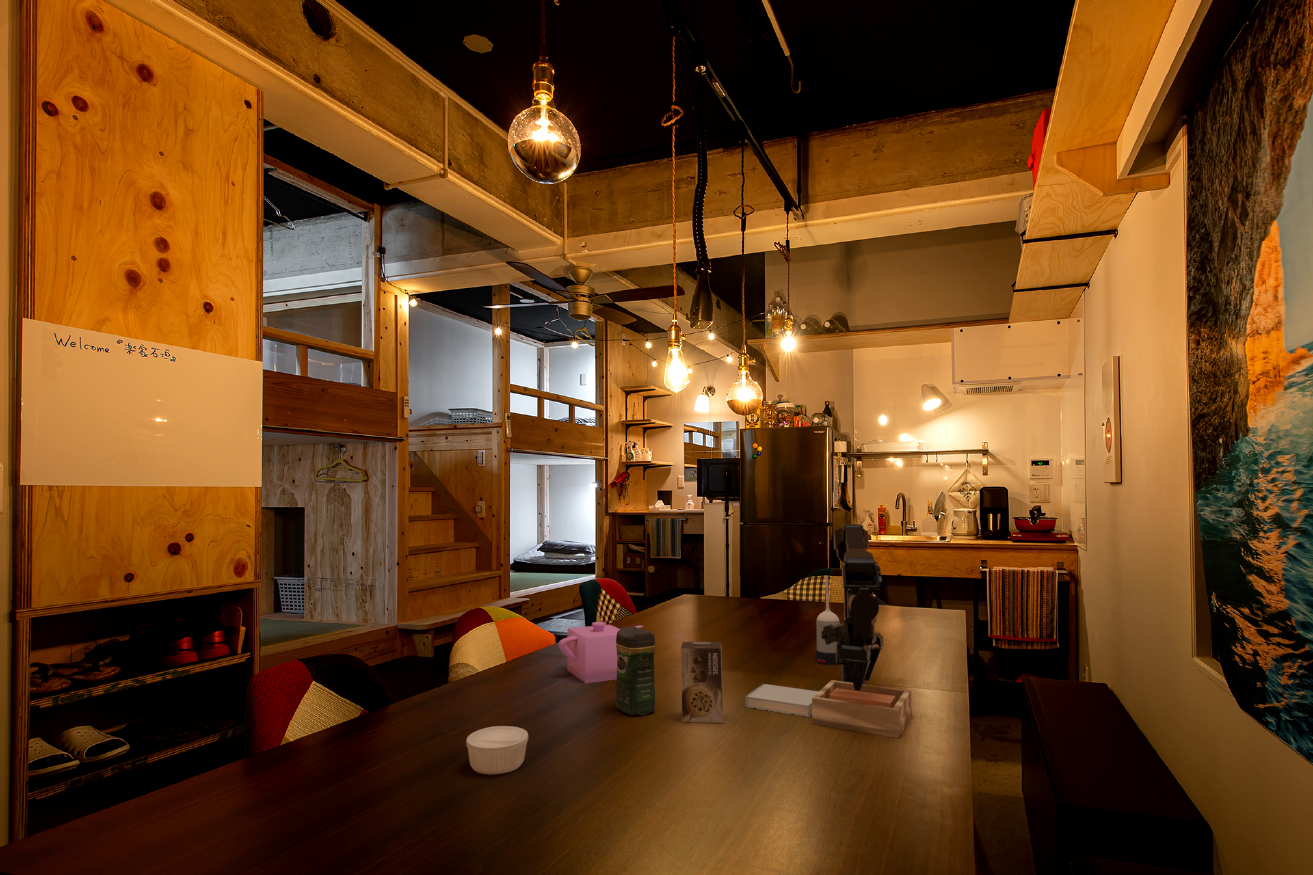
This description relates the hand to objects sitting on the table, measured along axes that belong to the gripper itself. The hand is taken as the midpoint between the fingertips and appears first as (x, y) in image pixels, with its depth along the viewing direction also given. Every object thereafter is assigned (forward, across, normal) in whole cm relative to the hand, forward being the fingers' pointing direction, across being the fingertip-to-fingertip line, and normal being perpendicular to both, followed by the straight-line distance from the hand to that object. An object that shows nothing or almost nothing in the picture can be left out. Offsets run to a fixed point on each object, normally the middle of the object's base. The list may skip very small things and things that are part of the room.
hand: (862, 685), depth 153 cm
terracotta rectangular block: (+6, 0, 0) cm, 6 cm away
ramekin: (+8, +58, -54) cm, 79 cm away
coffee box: (+8, +16, -32) cm, 36 cm away
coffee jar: (+8, +18, -48) cm, 51 cm away
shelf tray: (+8, 0, 0) cm, 8 cm away
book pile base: (+8, -2, -19) cm, 20 cm away
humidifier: (+8, -49, -20) cm, 54 cm away
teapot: (+8, -6, -72) cm, 73 cm away
